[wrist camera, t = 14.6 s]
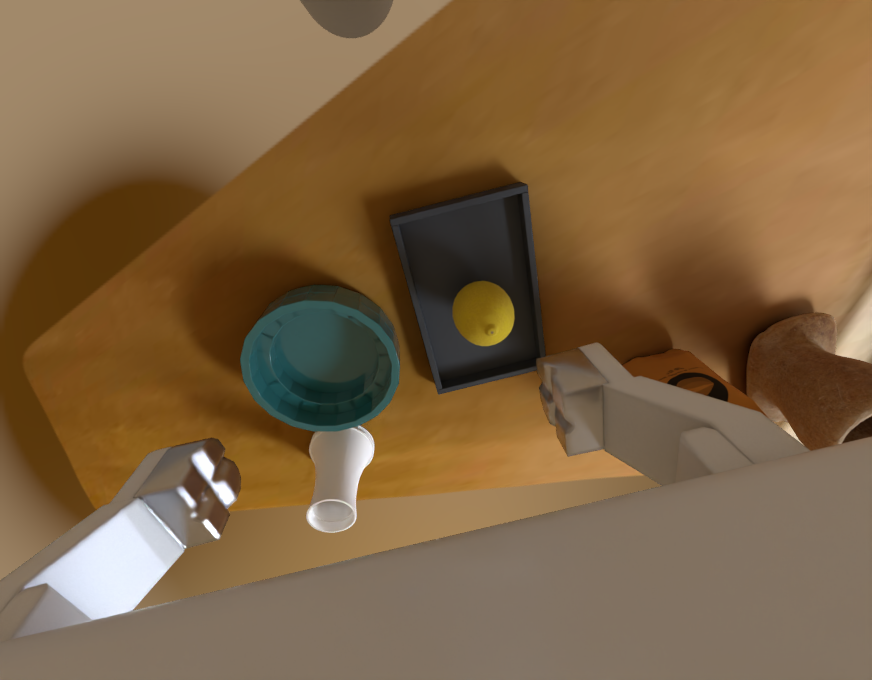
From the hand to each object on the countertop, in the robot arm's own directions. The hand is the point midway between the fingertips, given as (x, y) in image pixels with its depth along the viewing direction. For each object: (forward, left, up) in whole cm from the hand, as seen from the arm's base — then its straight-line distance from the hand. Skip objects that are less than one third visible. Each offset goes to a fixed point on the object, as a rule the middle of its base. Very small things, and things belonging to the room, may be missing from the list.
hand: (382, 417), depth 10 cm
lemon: (+10, +6, -29) cm, 31 cm away
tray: (+10, +6, -29) cm, 31 cm away
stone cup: (+29, +40, -29) cm, 57 cm away
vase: (+25, -13, -29) cm, 41 cm away
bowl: (+12, -10, -29) cm, 33 cm away
